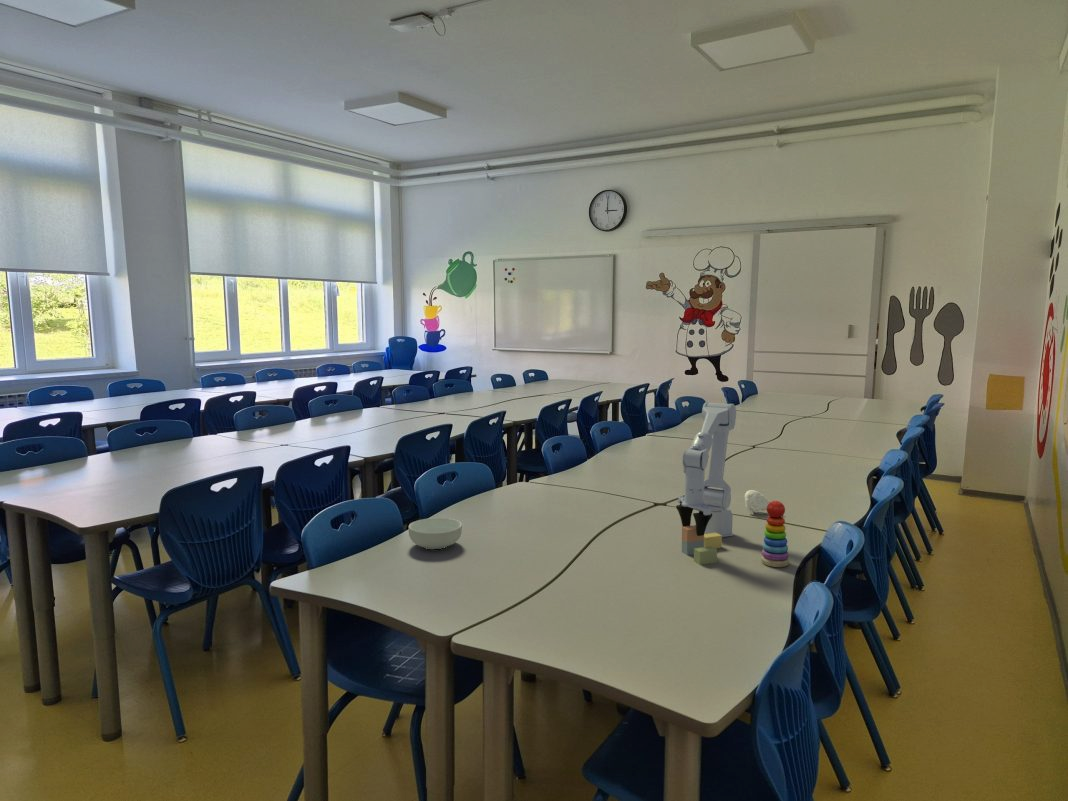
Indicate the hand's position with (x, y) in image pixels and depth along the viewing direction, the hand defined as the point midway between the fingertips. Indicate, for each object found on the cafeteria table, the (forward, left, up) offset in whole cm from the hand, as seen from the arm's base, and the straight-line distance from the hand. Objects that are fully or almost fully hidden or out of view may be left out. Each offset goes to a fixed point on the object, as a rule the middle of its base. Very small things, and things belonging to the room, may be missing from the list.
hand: (693, 531), depth 204 cm
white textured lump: (-47, -26, -7) cm, 54 cm away
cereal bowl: (+73, -34, -7) cm, 81 cm away
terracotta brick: (0, 0, -3) cm, 3 cm away
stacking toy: (-17, +16, -7) cm, 25 cm away
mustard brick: (-8, -2, -7) cm, 11 cm away
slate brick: (0, 0, -7) cm, 7 cm away
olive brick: (+1, +8, -7) cm, 11 cm away
